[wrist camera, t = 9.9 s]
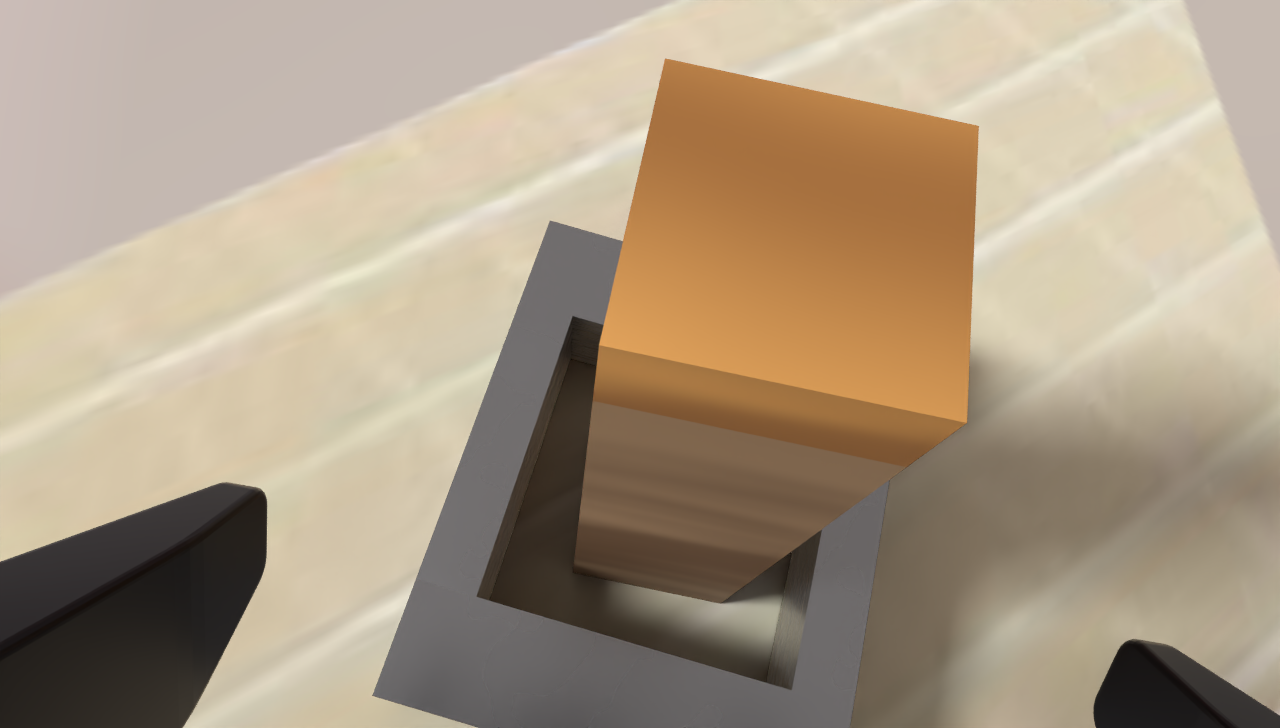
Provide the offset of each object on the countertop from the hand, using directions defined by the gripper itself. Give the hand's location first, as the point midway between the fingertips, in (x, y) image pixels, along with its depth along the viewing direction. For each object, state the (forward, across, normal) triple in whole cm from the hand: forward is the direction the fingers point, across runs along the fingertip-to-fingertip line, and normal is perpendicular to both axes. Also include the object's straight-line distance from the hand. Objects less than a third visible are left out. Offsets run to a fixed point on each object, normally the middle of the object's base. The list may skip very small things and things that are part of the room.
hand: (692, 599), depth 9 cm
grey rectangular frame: (+10, 0, +5) cm, 12 cm away
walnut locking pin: (+10, 0, +5) cm, 12 cm away
